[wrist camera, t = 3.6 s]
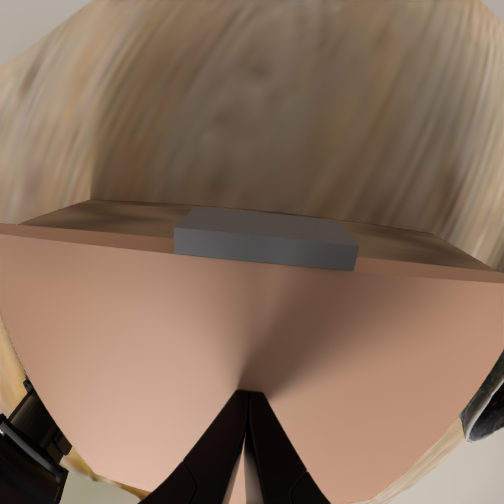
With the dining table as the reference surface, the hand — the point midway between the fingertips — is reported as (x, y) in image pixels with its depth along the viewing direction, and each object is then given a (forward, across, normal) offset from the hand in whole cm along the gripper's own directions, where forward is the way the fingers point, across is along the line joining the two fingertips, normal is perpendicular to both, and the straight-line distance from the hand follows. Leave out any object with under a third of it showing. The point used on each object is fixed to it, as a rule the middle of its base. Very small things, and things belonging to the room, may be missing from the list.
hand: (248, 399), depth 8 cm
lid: (+2, 0, +4) cm, 5 cm away
